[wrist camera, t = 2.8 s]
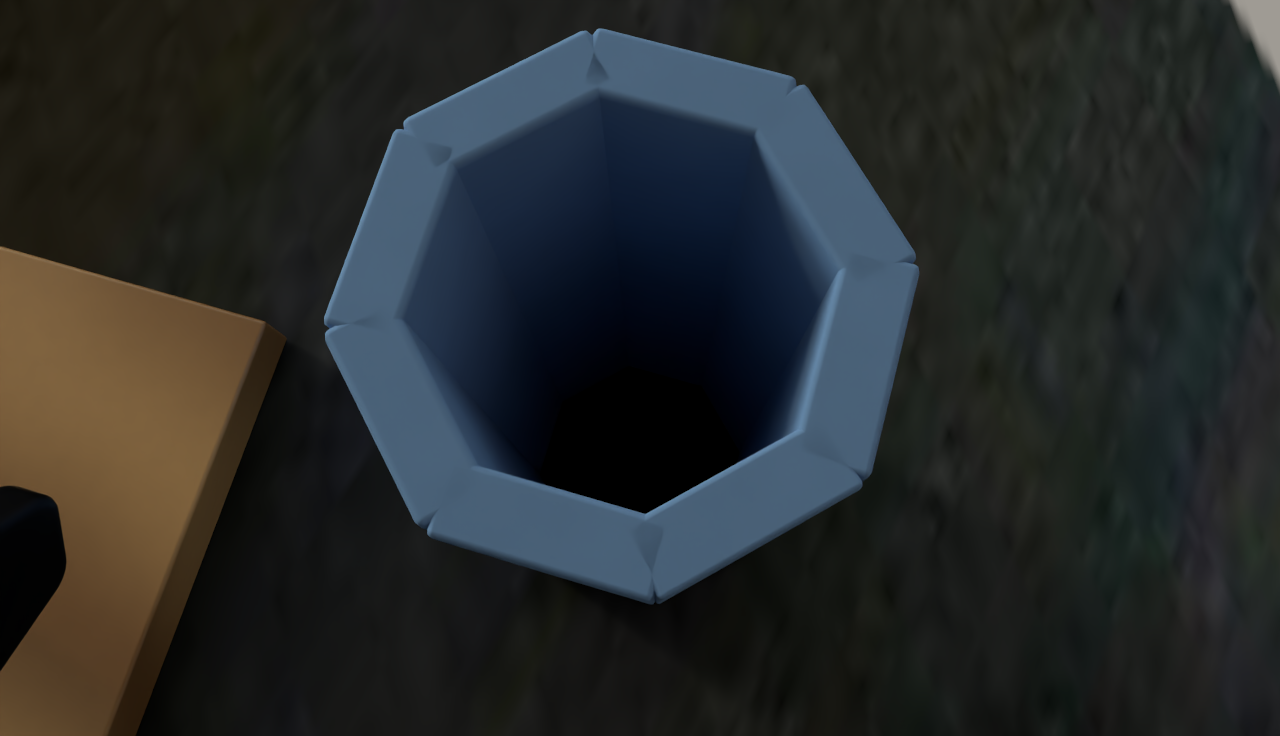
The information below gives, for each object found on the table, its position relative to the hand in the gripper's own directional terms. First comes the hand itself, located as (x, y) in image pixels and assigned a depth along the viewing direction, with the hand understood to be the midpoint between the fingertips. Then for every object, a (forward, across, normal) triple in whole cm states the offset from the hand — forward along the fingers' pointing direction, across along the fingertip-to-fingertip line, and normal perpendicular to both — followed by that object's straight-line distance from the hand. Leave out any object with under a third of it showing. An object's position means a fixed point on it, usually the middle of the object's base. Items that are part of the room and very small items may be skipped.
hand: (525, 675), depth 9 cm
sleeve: (+10, 0, +5) cm, 11 cm away
